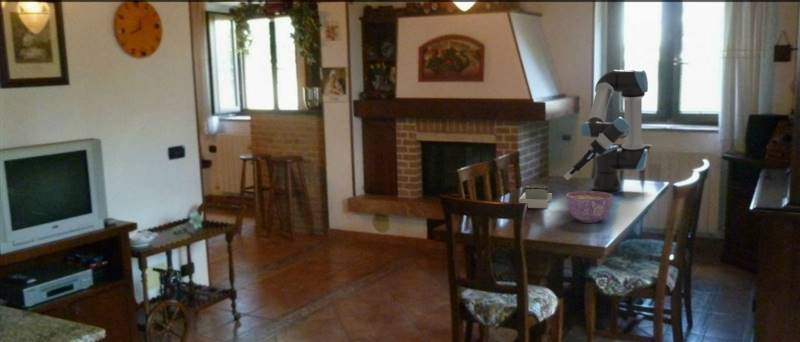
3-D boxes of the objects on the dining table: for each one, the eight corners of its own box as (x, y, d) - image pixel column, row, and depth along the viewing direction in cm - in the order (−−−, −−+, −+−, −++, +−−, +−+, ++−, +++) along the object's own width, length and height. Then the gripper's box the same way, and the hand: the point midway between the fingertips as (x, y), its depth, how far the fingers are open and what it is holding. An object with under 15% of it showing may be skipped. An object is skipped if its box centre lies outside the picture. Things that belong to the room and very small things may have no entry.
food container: (550, 204, 367) (550, 184, 365) (549, 206, 361) (549, 186, 359) (524, 203, 370) (524, 183, 369) (523, 206, 364) (523, 186, 363)
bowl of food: (605, 227, 315) (605, 200, 313) (559, 223, 325) (559, 197, 323) (618, 218, 331) (618, 192, 330) (574, 214, 342) (575, 189, 340)
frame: (551, 201, 375) (551, 193, 374) (548, 208, 358) (548, 200, 357) (524, 200, 379) (524, 192, 378) (519, 207, 362) (519, 199, 361)
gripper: (596, 136, 361) (561, 170, 369) (595, 140, 349) (559, 175, 357) (607, 147, 361) (572, 180, 368) (606, 151, 348) (570, 186, 356)
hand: (565, 178), depth 363 cm, fingers closed
